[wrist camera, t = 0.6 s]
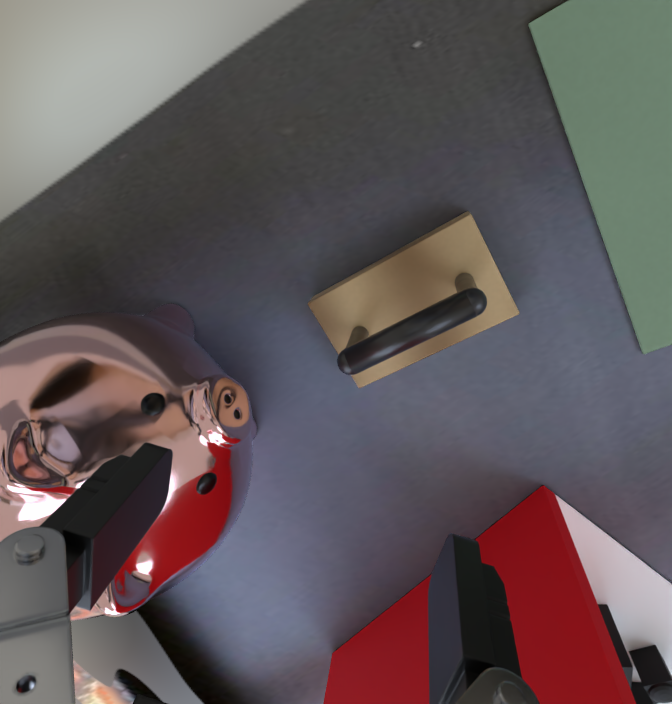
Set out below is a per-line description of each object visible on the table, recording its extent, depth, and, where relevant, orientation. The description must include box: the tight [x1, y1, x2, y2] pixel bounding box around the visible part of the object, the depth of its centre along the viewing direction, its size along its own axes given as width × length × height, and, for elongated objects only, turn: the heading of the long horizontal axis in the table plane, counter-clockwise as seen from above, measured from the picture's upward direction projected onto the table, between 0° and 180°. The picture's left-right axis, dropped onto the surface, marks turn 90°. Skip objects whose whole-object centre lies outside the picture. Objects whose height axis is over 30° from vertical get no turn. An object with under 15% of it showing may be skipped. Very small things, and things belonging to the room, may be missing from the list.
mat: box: [528, 0, 672, 354], centre depth 24 cm, size 18×7×1 cm, turn 27°
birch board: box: [308, 211, 520, 388], centre depth 26 cm, size 10×6×6 cm, turn 121°
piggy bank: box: [0, 303, 257, 621], centre depth 26 cm, size 15×18×16 cm
